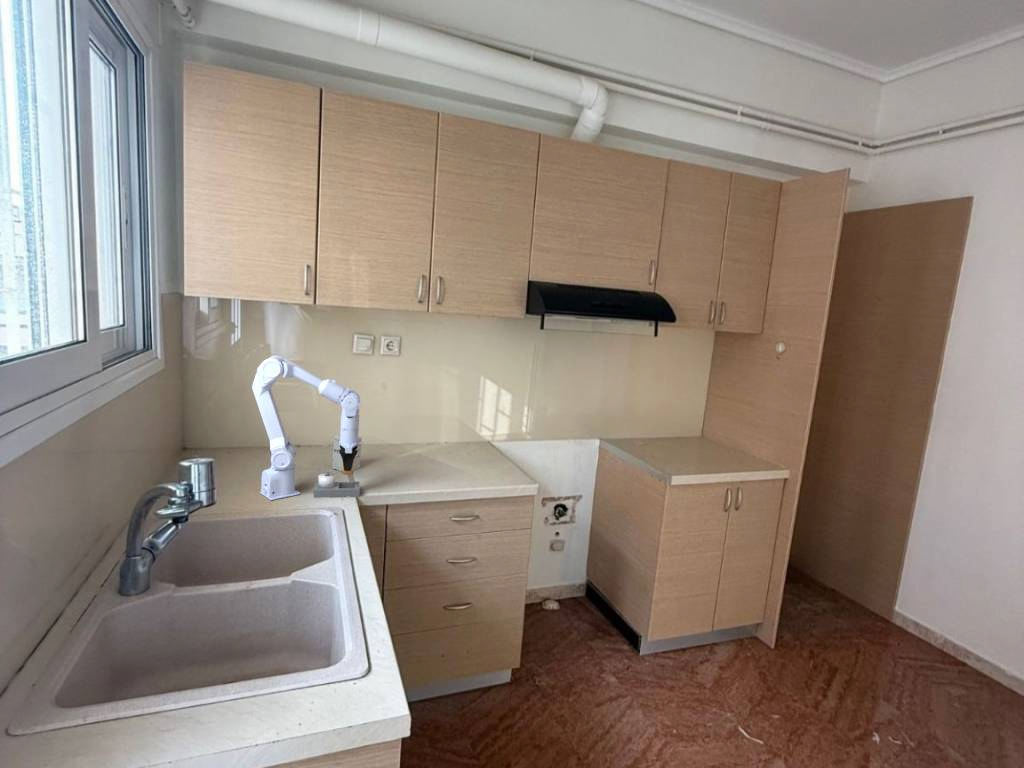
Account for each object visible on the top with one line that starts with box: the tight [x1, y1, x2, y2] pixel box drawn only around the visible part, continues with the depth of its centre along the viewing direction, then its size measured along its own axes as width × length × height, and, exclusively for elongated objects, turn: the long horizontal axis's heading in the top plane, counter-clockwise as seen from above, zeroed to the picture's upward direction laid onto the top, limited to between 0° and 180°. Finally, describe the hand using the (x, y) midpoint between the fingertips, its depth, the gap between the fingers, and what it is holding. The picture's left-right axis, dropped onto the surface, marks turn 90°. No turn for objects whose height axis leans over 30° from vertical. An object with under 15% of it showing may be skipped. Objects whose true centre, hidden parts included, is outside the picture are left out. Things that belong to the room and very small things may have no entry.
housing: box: [313, 471, 360, 498], centre depth 170 cm, size 14×8×7 cm, turn 107°
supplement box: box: [331, 434, 362, 472], centre depth 196 cm, size 7×7×13 cm
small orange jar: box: [341, 461, 354, 476], centre depth 170 cm, size 4×4×6 cm
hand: (347, 468), depth 171 cm, fingers closed on small orange jar, 4 cm apart
